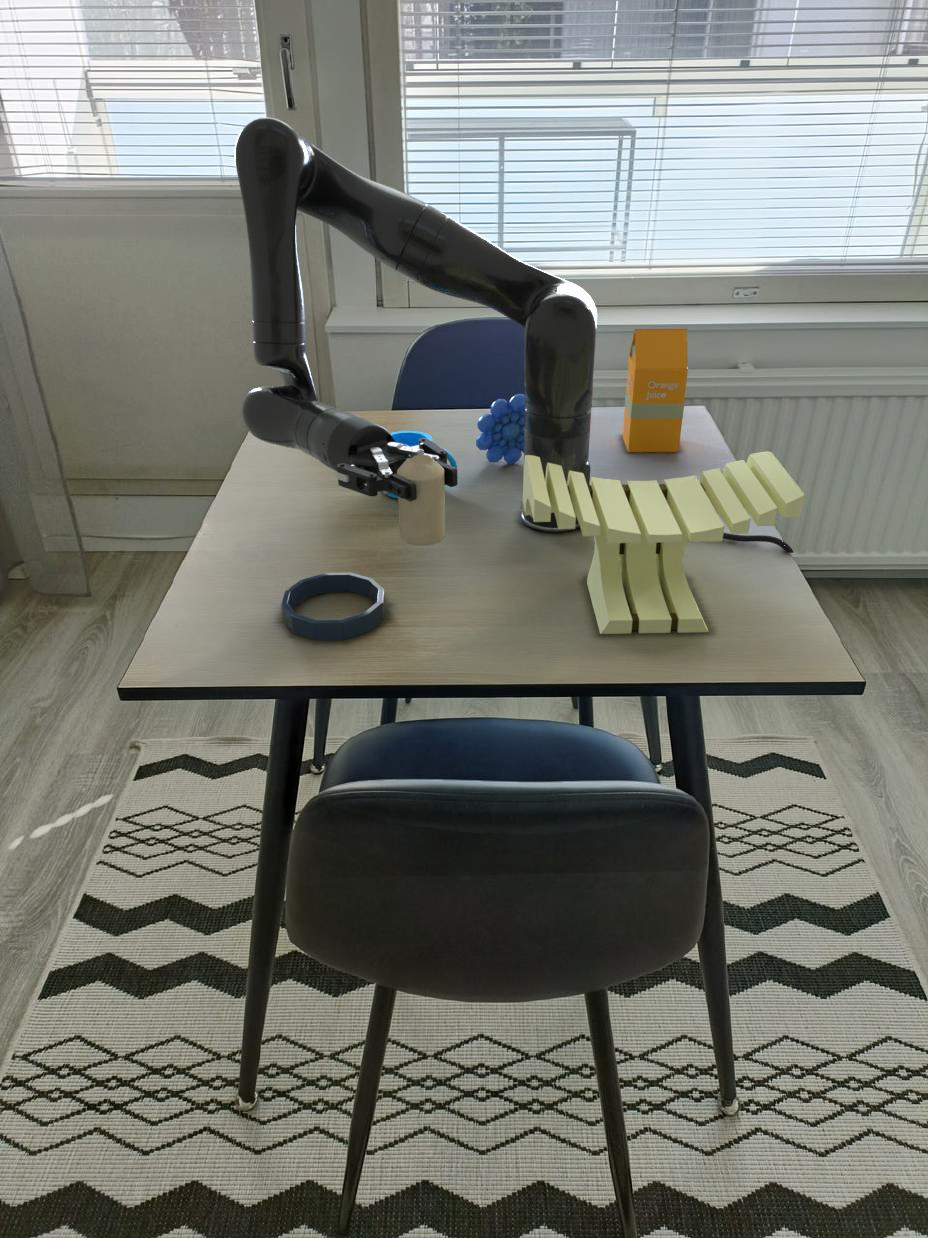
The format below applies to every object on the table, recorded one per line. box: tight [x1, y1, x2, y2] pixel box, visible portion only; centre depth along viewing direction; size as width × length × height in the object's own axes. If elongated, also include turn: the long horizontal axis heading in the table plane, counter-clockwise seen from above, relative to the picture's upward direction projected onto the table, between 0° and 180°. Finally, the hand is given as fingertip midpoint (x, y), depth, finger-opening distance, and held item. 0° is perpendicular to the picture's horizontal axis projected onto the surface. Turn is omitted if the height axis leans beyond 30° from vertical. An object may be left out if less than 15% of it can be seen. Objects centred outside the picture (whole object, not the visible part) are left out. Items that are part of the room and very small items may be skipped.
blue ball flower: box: [475, 393, 525, 465], centre depth 159 cm, size 12×7×12 cm, turn 90°
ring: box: [280, 572, 386, 641], centre depth 119 cm, size 12×12×2 cm
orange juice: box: [622, 328, 689, 453], centre depth 163 cm, size 8×9×20 cm
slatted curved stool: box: [522, 451, 806, 635], centre depth 118 cm, size 30×16×18 cm, turn 91°
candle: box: [397, 455, 446, 547], centre depth 114 cm, size 6×6×10 cm
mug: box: [385, 430, 458, 499], centre depth 150 cm, size 12×8×8 cm
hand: (434, 485), depth 111 cm, fingers closed on candle, 5 cm apart
